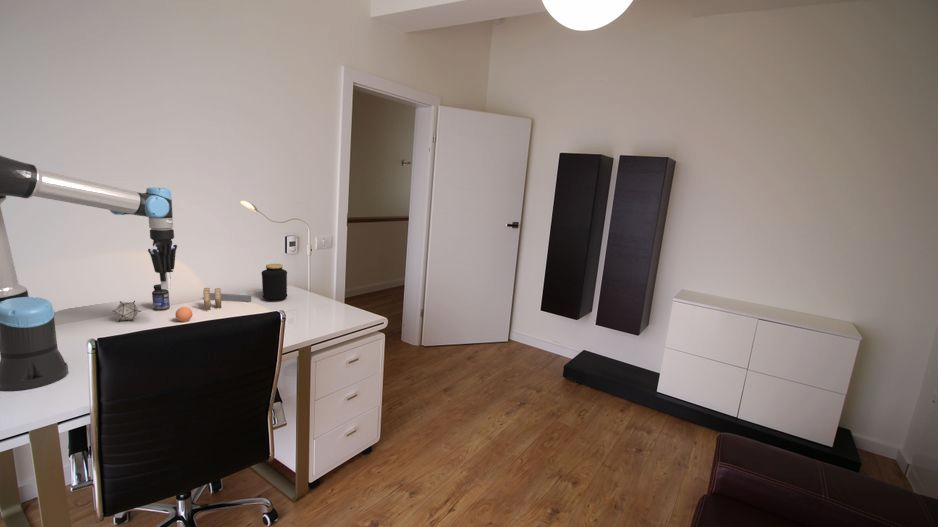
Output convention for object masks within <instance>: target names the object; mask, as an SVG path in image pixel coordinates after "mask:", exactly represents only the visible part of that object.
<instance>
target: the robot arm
mask: <svg viewBox="0 0 938 527" xmlns="http://www.w3.org/2000/svg"><path fill="white" fill-rule="evenodd" d="M7 197H15V198H22V199H30V198H32V197H37V198H43V199H47V200H48V199H49V200H53V201H59V202H64V203H71V204H75V205H81V206H86V207H93V208H98V209H104V210H107V211H108V210H109V211H110V213H111V214H113V215H116V216H117V215H118V216H119V215H120V216H125V215H132V216H138V217H146V218H148V227H149V238H150V239H151V240H152V247H151V248H148V249H147V252H148V253H149V255H150V258H151V262H152V266H153V270H154V272H155V273H156V274H159V282H160V284H161V289H166V290H168V291H169V290H170V289H172V286H171V285H172V284H171V279H172V278H171V273H173V272H174V269H175V265H176V264H175V262H176V252H177V248H178V245H177V244H174V243H173V239H174V238H175V231H174V230H175V229H173V228H174V220H173V219H174V218H173V202H172V201H173V199H172V192H171V190H170V189H169V188H167V187H147V188H146V191H145V192H138V191H133V190H130V189H129V190H128V189H124V188H122V187H121V188H119V187H117V186H112V185H107V184H103V183H98V182H94V181H91V180H90V181H89V180H86V179H82V178H81V179H80V178H76V177H73V176H67V175H63V174H59V173H54V172H49V171H46V170H40V169H39V168H38V167H37V165H35V164H31V163H26V162H23V161H19V160H16V159H12V158H9V157H7V156H3V155H0V390H1V391H8V392H9V391H10V392H11V391H13V392H14V391H22V390H23V391H24V390H30V389H34V388H39V387H43V386H47V385H49V384H52V383H55V382H57V381H60V380H61V379H64V378H65V377H67V375H69V364H68V363H67V362H65V359H64V357H63V355H62V354H61V352H60V350H59V349H58V340H57V332H56V323H55V322H56V321H55V310H54V308H53V304H52V302H50V301H49V300H48V299H45V298H44V297H33V296H30V295H29V292H28V288H27V287H26V286H23V285H21V284H20V283H19V280H18V279H19V278H18V276H17V272H16V268H15V267H16V266H15V263H14V259H13V255H12V251H11V245H10V240H9V237H8V233H7V228H6V224H5V220H4V219H5V218H4V216H3V211H2V207H1V205H2V203H4V202H5V200H6V199H7Z"/></svg>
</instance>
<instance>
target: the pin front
mask: <svg viewBox="0 0 938 527" xmlns="http://www.w3.org/2000/svg"><path fill="white" fill-rule="evenodd" d="M210 293H211V290H210V291H209V290H205V291H204V290H203V307H204V309H203V310H210V311H211V307H210V303H211V300H210Z"/></svg>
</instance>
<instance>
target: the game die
mask: <svg viewBox="0 0 938 527" xmlns="http://www.w3.org/2000/svg"><path fill="white" fill-rule="evenodd" d="M135 303H136V300H134V301H133V302H122V301H119V304H118V306H117V307H116V308H115V309H114V310H112V311H111V312H113V313H115V315H116V316H117V318H118V319H119V320H118V321H119V322H121V321H131V320H132V321H133V320H134V319H135V317H136V316H137V315H138V314H139V312H142V310H139V309H138V308H139V307H137V305H136V304H135Z"/></svg>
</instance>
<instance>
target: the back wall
mask: <svg viewBox="0 0 938 527" xmlns="http://www.w3.org/2000/svg"><path fill="white" fill-rule="evenodd" d="M210 301H215V292H210ZM222 301H225V302H239V303H240V302H241V303H244V302H245V303H250V302H252V295H251V294H237V293H236V294H235V293H222V292H221V302H222Z"/></svg>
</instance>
